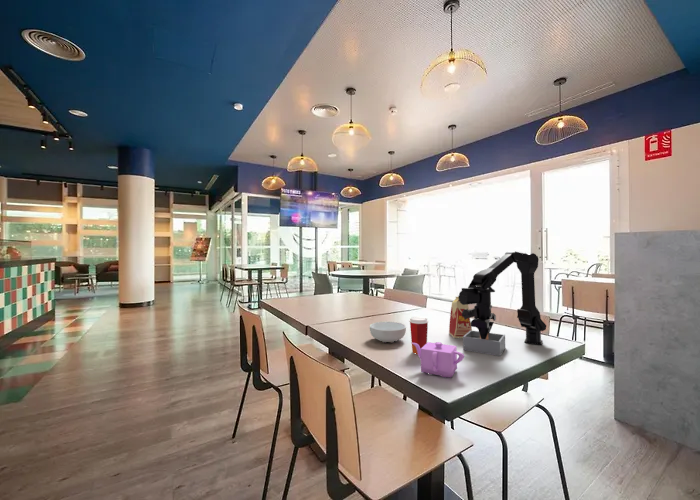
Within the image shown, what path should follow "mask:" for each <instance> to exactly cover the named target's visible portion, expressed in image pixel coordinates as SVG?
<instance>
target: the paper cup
mask: <svg viewBox="0 0 700 500" xmlns="http://www.w3.org/2000/svg"><path fill="white" fill-rule="evenodd" d="M408 322H409V325H410V337H411V338H410V339H411V351H412V354H414V353H416V354H415V355H418V353H417V349H416V347H415V346H414V345H413V344H412V343H417V344H418V345H419V346H420V349H421V348H422V347H423V346H424V345H425V344H426V343H428V326H429V325H428V323H429V320H428V318H427V317H425V316H411V317H410V318H409V320H408Z"/></svg>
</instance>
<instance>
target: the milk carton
mask: <svg viewBox="0 0 700 500" xmlns="http://www.w3.org/2000/svg"><path fill="white" fill-rule="evenodd" d="M465 309H468V310H469V309H470V308H469V304H467V305H462V304H461V303H460V301H459V297H458V296H455V299H454V300H453V301H452V302H451V307H450V312H449V313H450V314H449V316H450V317H449V324H448V325H449V326H448V327H449V328H448V329H449V330H448V334H449V335H450V336H452V337H453V338H454V339H463V336H464V335H466V334H467V333H468V332H469V331H470V330H472V331H473V329H472V326H471V321H472V320H471V318H467V319H464V317H463V316H462V312H463V310H465Z"/></svg>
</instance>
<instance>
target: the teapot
mask: <svg viewBox="0 0 700 500" xmlns="http://www.w3.org/2000/svg"><path fill="white" fill-rule="evenodd" d="M412 344H413V345H414V346H415V347H416V349H417V353H418V354H417V356H418V358H419V360H420V372H421V373H426V374H427V373H429V374H433V375H437V376H441V377H442V378H444V377H446V378H452V377H453V376H454V374H455V372H456V370H457V369H458V364H459V363H460V362H462V361H463V360H464V358H465V354H463V353H462V352H460V351H458V350H457V345H451V344H446V343H445V344H444V343H442V342H440V341H438V342H429V341H427V343H426V344H425V345H424V346H423V347H422V348H421V349H420V346H419V345H418V344H417V343H412V342H411V345H412ZM429 374H428V375H429Z"/></svg>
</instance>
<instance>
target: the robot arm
mask: <svg viewBox="0 0 700 500" xmlns="http://www.w3.org/2000/svg"><path fill="white" fill-rule="evenodd" d="M514 263H516V267H517V269H518V271H519V272H520V276H521V278H520V279H521V300H522V303H521V304H522V305H521V307H520V308H518V309H517V310H516V312H517V313H516V314H517V315H516V316H517V317H516V318H518V321H519V324H520V327H522V328H525V339H524V343H526V344H532V345H538V346H542V345H543V340H542V333H541V332H544V331H546V330H547V329H546V328H547V324H546V323H545V322H544V321H543V320H542V318H541V313H540V311H539V309H538V307H537V306H536V287H535V273H536V271H537V269H538V267H539V256H538V255H537V254H536V253H533V252H531V253H529V252H527V253H526V252H525V253H524V252H520V251H519V252H518V251H515V250H513V251H506V252H505V253H504V254H503V255H502V256H501V257H500V258H499V259H497V260H496V261H495V262H494V263H493V264H491V265H490V266H489V267H488V268H486V269H483V270H480V271H478V272H477V273H475V274H474V275H473V277H472V280H471V282H470V283H469V285H468V286H467V287H461V291H459V294H458V295H457V297H459V301H460V303H461V304H462V305H467V304H468V305H474V307H473V308H469V310H468V309H465V310H463V312H462V316H463V317H464V319H467V318H470V319H471V318H473V319H472V320H470V321H471V327H473V328H476V329H477V331H479V333H480V336H481V339H486V337H487V334H488V335H489V333H491V330H492V327H493V326H494V324H495V321H496V320H497V316H496V314H495V313H494V312H492V308H493V305H492V296H491V295H492V294H491V293H495V292H496V290H495V289H494V288H493V285H494V284H495V283H496V281H497V277H498V276H499V275H500V274H502V272H504V271H505V270H506V269H508V268H509V267H510V266H511V265H512V264H514ZM491 320H492V321H491Z"/></svg>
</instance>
